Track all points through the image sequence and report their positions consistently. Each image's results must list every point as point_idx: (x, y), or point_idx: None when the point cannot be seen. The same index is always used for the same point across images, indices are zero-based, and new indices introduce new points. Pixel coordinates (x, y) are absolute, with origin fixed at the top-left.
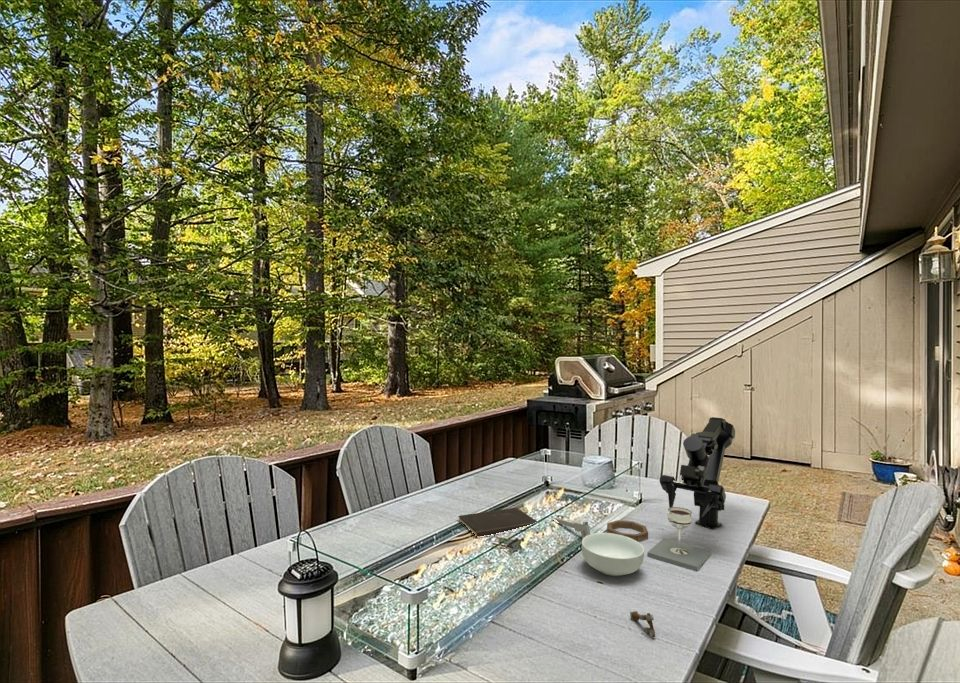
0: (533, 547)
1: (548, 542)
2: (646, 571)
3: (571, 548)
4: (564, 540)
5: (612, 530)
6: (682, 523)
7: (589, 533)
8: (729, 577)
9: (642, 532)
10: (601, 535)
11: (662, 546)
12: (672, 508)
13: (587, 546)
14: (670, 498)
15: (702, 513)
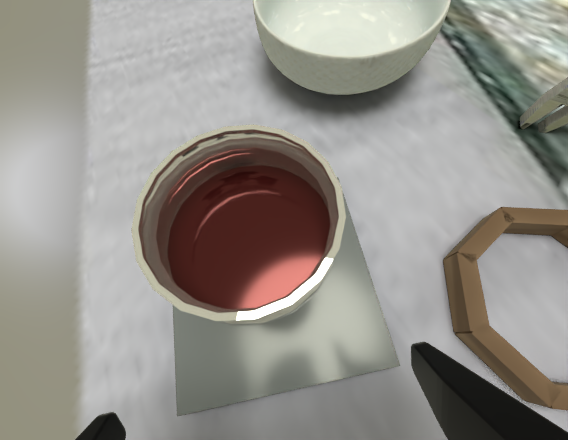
0: (539, 7)
1: (559, 45)
2: (277, 111)
3: (494, 64)
4: (558, 82)
5: (555, 212)
6: (203, 182)
7: (541, 103)
8: (82, 261)
9: (482, 306)
10: (437, 18)
11: (339, 267)
12: (335, 244)
13: (422, 5)
14: (523, 429)
15: (84, 432)
